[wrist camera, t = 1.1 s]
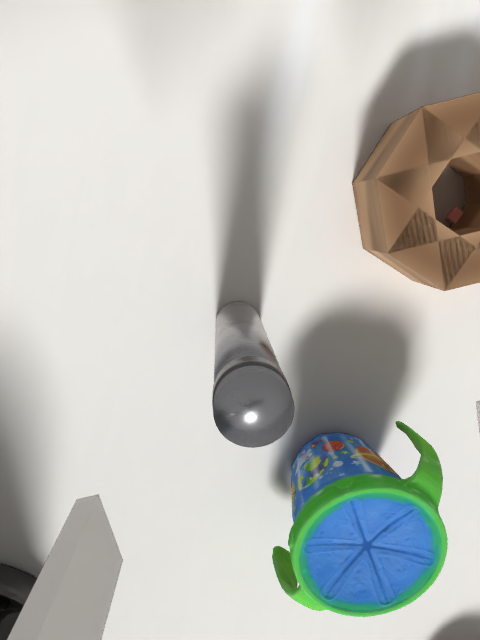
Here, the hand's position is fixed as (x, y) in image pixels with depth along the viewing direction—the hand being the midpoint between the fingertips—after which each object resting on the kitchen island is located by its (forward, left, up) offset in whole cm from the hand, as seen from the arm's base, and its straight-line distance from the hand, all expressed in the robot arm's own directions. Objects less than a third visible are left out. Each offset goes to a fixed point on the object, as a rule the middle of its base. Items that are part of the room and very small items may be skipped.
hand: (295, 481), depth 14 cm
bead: (+16, +7, -21) cm, 27 cm away
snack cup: (+4, -14, -21) cm, 26 cm away
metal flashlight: (-1, +1, -21) cm, 21 cm away
